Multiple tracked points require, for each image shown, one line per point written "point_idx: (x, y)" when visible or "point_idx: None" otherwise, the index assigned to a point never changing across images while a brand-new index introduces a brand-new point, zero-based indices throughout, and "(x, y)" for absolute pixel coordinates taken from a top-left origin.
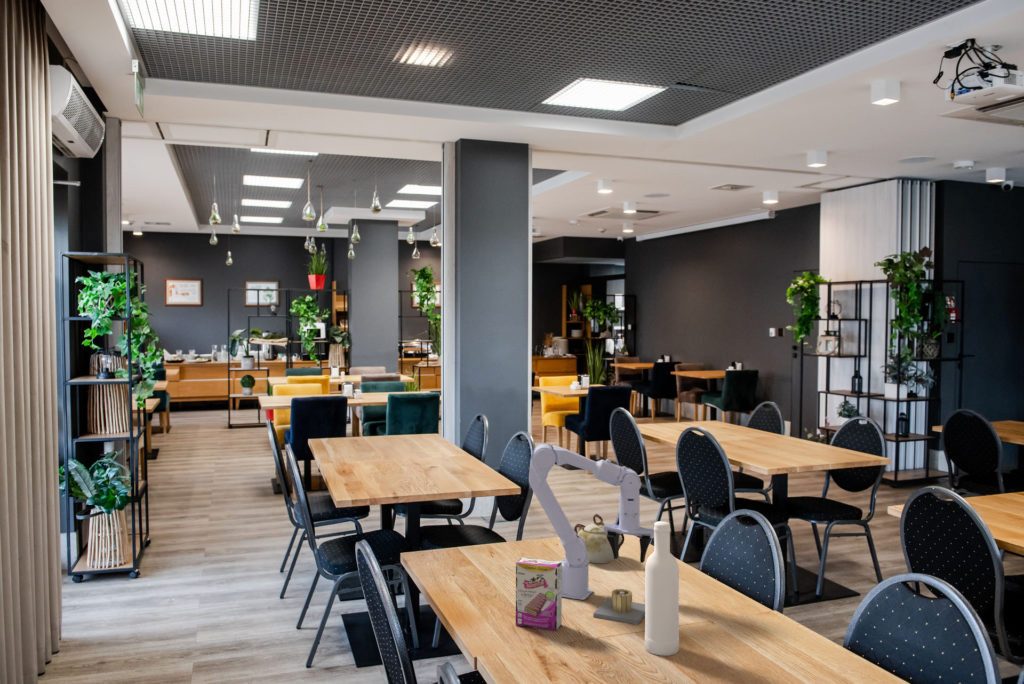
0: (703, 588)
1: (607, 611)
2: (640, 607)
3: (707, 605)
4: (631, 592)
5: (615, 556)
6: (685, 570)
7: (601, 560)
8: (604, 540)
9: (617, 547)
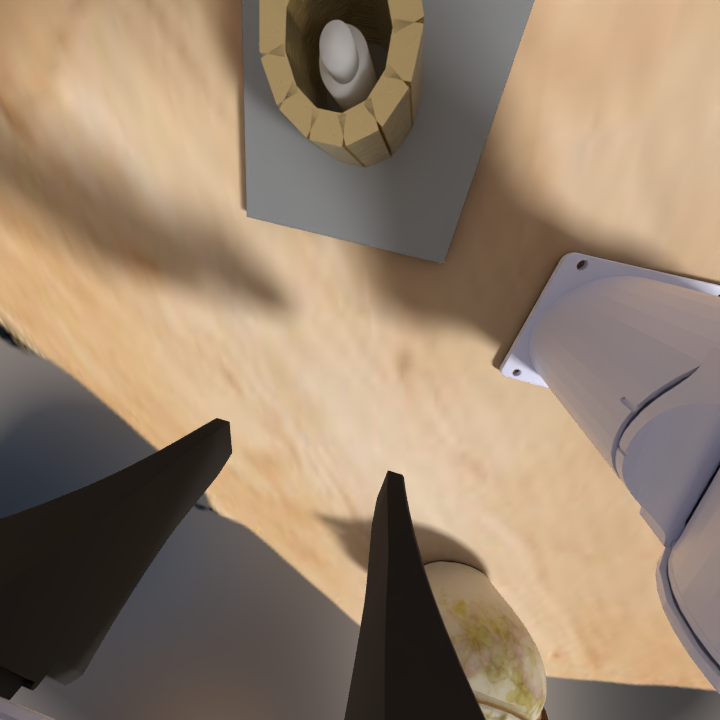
0: (170, 421)
1: (452, 3)
2: (276, 164)
3: (106, 297)
4: (266, 68)
5: (392, 487)
6: (244, 513)
7: (448, 570)
8: None
9: (372, 575)
